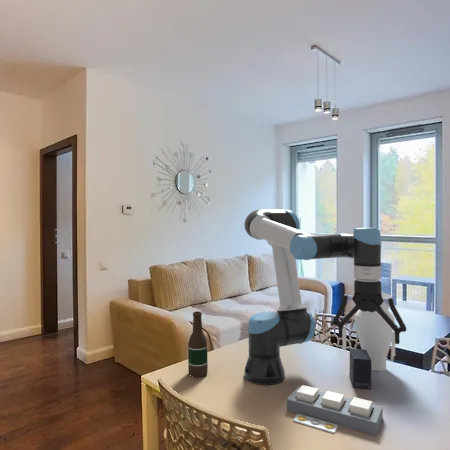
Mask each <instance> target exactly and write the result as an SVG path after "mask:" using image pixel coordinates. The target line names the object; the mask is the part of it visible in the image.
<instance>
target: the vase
mask: <svg viewBox="0 0 450 450" xmlns="http://www.w3.org/2000/svg"><path fill="white" fill-rule="evenodd" d="M381 294H382V297H383V298H389V297H392V295H391V294H389V293H384V292H383V291H381ZM392 298H393V297H392ZM381 308H382V309H383V310H384V311H385V313H386V314H387V315H388V316H389V317H390V318H391V319H392V321H393V322H394V323H395V316H394V315H393V313H391V312H392V311H389V309H390V306H388V305H386V303H385V302H383V303H382V304H381ZM354 315H355V318H354V326H355V330H356V334H357V337H358V338H357V339H358V340H359V345H360V349H362V350H366V351H367V353H368V354H369V356H370V358H371V371H374V372H383V371H385V370H386V369H387V358H388V354H389V352H390V347H391V345H392V331H394V330H393V329H392V328H391V327H390V326H389V325H388V323H387V322H386V321H385V320H384V319H383V318H382V316H381V315H380V314H379V313H378V312H377V311H375V312H369V311H366V312H363V311H361V310H360V309H359V310H358V311H357V312H356V313H355V314H354ZM395 324H396V323H395Z"/></svg>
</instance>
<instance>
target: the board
mask: <svg viewBox="0 0 450 450" xmlns="http://www.w3.org/2000/svg"><path fill="white" fill-rule="evenodd" d="M300 387H301V386H297V388H296V389H295V390H294V391H293V392H292V393H291V394H290V395H289V396H288V397H287V398H286V411H288V412H290V413H295V414H297V415H298V414H301V415H304V416H308V417H311V418H315V419H318V420H322V421H325V422H329V423H333V424H336V425H338V426H342V427H343V428H344V427H345V428H348V429H351V430H355V431H359V432H363V433H365V434H370V435H373V436H377V435H378V432H379V429H380V427H381V424H382V421H383V418H384V417H383V413H384V412H383V406H381V405H376V404H373V403H372V411H371V414H370V416H369V417H366V416H362V415H358V414H354V413H350V403H351V401H352V399H353V398H348V397H344V404H343V406H342V407H341V409H340V410H339V409H335V408H331V407H327V406H323V405H322V397H323V396H324V395H325V393H326V392H323V391H319V396H318V398H317V399H316V400H315V402H314V403H312V402H308V401H304V400H300V399H297V391H298V390H299V388H300Z"/></svg>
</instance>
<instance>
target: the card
mask: <svg viewBox="0 0 450 450" xmlns="http://www.w3.org/2000/svg"><path fill="white" fill-rule="evenodd" d="M292 421H293V422H294V423H298V424H301V425H305V426H308V427H312V428H315V429H318V430H321V431H325V432H328V433H332V434H335V433H336V432H337V429H338V428H339V425H337V424H333V423H330V422H326V421H322V420H319V419H315V418H312V417H308V416H305V415H301V414H298V413H297V414H296V415H295V417H294V418H293V420H292Z"/></svg>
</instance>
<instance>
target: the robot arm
mask: <svg viewBox="0 0 450 450" xmlns="http://www.w3.org/2000/svg"><path fill="white" fill-rule="evenodd" d="M243 224H244V230H245V232H246V234H247V235H248V236H249V237H250V238H253V239H255V240H260V241H261V240H265V241H266V242H267V244H268V245H269V246H271V248H272V256H273V263H274V270H275V272H274V273H275V278H276V283H277V284H276V285H277V293H278V298H279V306H278V308H277V309H276V312H275V311H261V312H257V313H255V314H253V315H251V316H250V318H249V319H248V326H247V327H248V328H247V332H248V357H247V360H246V364H245V367H244V378H245V380H247V381H248V382H250V383H253V384H257V385H264V386H266V385H267V386H269V385H270V386H271V385H275V384H280V383H282V382H283V381H284V380H285V378H286V376H285V375H286V374H285V373H286V372H285V368H284V364H283V362H282V358H281V356H280V352H281V351H280V350H281V349H280V347H287V346H291V345H297V344H299V345H302V344H303V343H306V342H309V341H311V340H312V339H313V337H314V335H315V332H316V321H315V317H314V316H313V314H312V313H311V312H309V311H308V309H307V306H306V305H304V304H303V303H302V302H303V301H302V296H301V290H300V282H299V276H298V270H297V263H296V260H299V261H300V260H303V261H310V260H319V259H320V260H321V259H333V258H334V259H335V258H338V259H339V258H347V259H349V258H350V259H353V278H354V279H355V280H354V281H353V291H354V292H353V293H354V294H353V295H349V294H348V293H345V294H344V295H343V297H342V303H341V305H340V307H339V309H338V311H337V312H336V314H335V316H334V318H333V320H332V322H331V323H332V324H333V326H334V325H335V326H337V327H338V337H339V338H340V339H341V340H342V351H345V350H346V349H347V326H346V323H348V322H349V320H350V319H352V317H353V316H354V315H356V313H357V311H358V310H361V311H363V312H366V311H369V312H375V311H377V312H378V313H379V314H380V315H381V316H382V318H383V319H384V320H385V321H386V322H387V323H388V325H389V326H390V327H391V328H392V329H393V330H394V331H392V341H391V345H392V347H391V349H392V354H391V355H392V357H396V345H400V343H401V342H400V334H401V333H402V332H403V333H406V332H407V326H406V323H404V320H403V318H402V317H401V315H400V312H399V311H398V309H397V308H396V306H395V301H394V297H389V298H383V297H382V294H381V292H382V281H381V279H382V261H381V260H382V253H381V252H382V238H381V237H382V236H381V230H380V229H379V228H377V227H355V228H354V229H353V233H341V232H340V233H337V232H335V233H329V234H328V233H326V234H324V233H322V234H313V233H309V232H306V231H303V230H301V223H300V220H299V217H298V215H297V214H296V213H295V212H294V211H293V210H290V209H283V208H281V209H280V208H279V209H262V208H261V209H256V210H253V211H251V212H250V213H249V214H248V215H247V216H246V218H245V220H244V223H243ZM351 301H353V303H354V304H355V305H354V306H353V308H352V309H351V310H350V311H349V312H348V313H347V314H346V315H345V316H344V317H343V318H342V319H341V320H339V319H340V318H341V315H342V314H343V313H344V312H343V311H344V309H345V308H346V307H347V304H348V303H350V302H351ZM383 302H385V303H386V305H388V306H389V309H390V312H392V313H391V314H392V315H393V316H394V319H395V320H396V322H397V324H398V325H397V324H396V323H394V322H395V321H394V322H393V321H392V319H391V318H390V317H389V316H388V315H387V314H386V313H385V311H384V310H383V309H382V308H381V304H382V303H383Z"/></svg>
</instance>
